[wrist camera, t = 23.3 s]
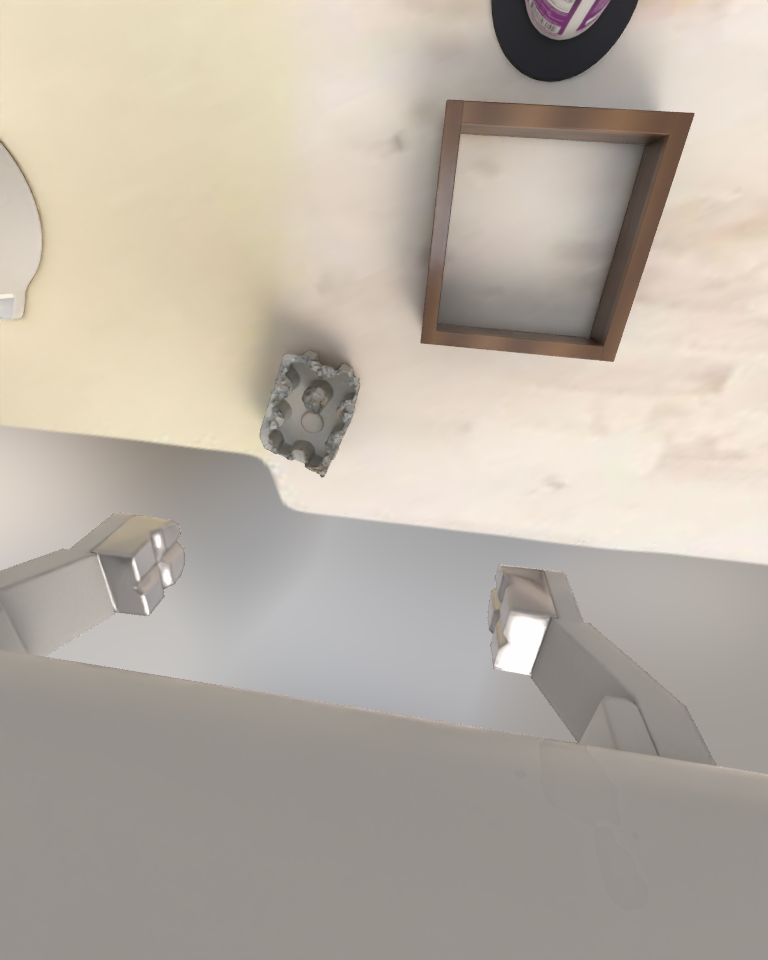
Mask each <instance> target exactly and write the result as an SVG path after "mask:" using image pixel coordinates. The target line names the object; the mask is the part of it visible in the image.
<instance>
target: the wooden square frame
mask: <svg viewBox="0 0 768 960" xmlns="http://www.w3.org/2000/svg"><path fill="white" fill-rule="evenodd" d="M693 117H694V113H684V112H665V111H646V110H628V109H609V108H591V107H573V106H554V105H536V104H517V103H499V102H480V101H464V100H447V102H446V111H445V120H444V130H443V139H442V148H441V158H440V167H439V176H438V186H437V195H436V204H435V214H434V223H433V232H432V242H431V251H430V260H429V269H428V279H427V288H426V297H425V307H424V316H423V325H422V335H421V343H424V344H435V345H445V346H455V347H466V348H476V349H486V350H497V351H507V352H517V353H528V354H538V355H548V356H559V357H569V358H579V359H590V360H600V361H610V362H613V361H614V359H615V356H616V353H617V350H618V346H619V343H620V340H621V337H622V334H623V331H624V328H625V325H626V322H627V319H628V316H629V313H630V310H631V307H632V304H633V301H634V298H635V295H636V291H637V288H638V285H639V282H640V279H641V276H642V273H643V270H644V267H645V264H646V261H647V258H648V255H649V252H650V249H651V246H652V243H653V239H654V236H655V233H656V230H657V227H658V224H659V221H660V218H661V215H662V212H663V209H664V206H665V203H666V200H667V197H668V194H669V191H670V187H671V184H672V181H673V178H674V175H675V172H676V169H677V166H678V163H679V160H680V157H681V154H682V151H683V148H684V145H685V142H686V139H687V136H688V132H689V129H690V126H691V123H692V120H693ZM460 134H475V135H492V136H509V137H525V138H542V139H559V140H575V141H592V142H609V143H625V144H642V145H645V144H646V147H645V150H644V154H643V157H642V160H641V164H640V167H639V171H638V174H637V178H636V181H635V184H634V188H633V191H632V195H631V198H630V201H629V205H628V208H627V212H626V215H625V219H624V222H623V225H622V229H621V232H620V236H619V239H618V243H617V246H616V249H615V253H614V256H613V260H612V263H611V266H610V270H609V273H608V277H607V280H606V284H605V287H604V290H603V294H602V297H601V301H600V304H599V308H598V311H597V314H596V318H595V321H594V325H593V328H592V331H591V335H590V338H584V337H573V336H562V335H552V334H541V333H530V332H519V331H509V330H498V329H487V328H476V327H466V326H455V325H444V324H437V319H438V311H439V303H440V295H441V287H442V279H443V270H444V262H445V254H446V246H447V238H448V230H449V222H450V213H451V205H452V197H453V189H454V181H455V173H456V165H457V156H458V148H459V140H460Z"/></svg>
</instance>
